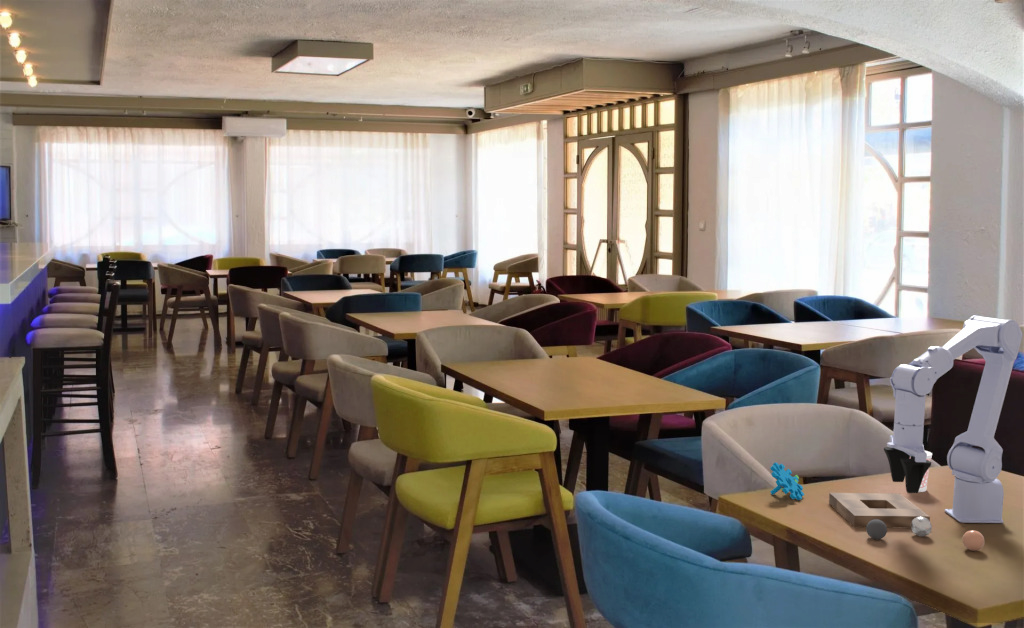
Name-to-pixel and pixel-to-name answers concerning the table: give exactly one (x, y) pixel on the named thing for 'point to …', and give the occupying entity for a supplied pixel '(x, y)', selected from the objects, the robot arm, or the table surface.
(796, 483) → the blue branched piece
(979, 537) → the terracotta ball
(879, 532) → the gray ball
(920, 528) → the steel ball
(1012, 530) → the table surface
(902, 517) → the wooden square frame
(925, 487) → the beverage cup
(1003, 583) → the table surface
